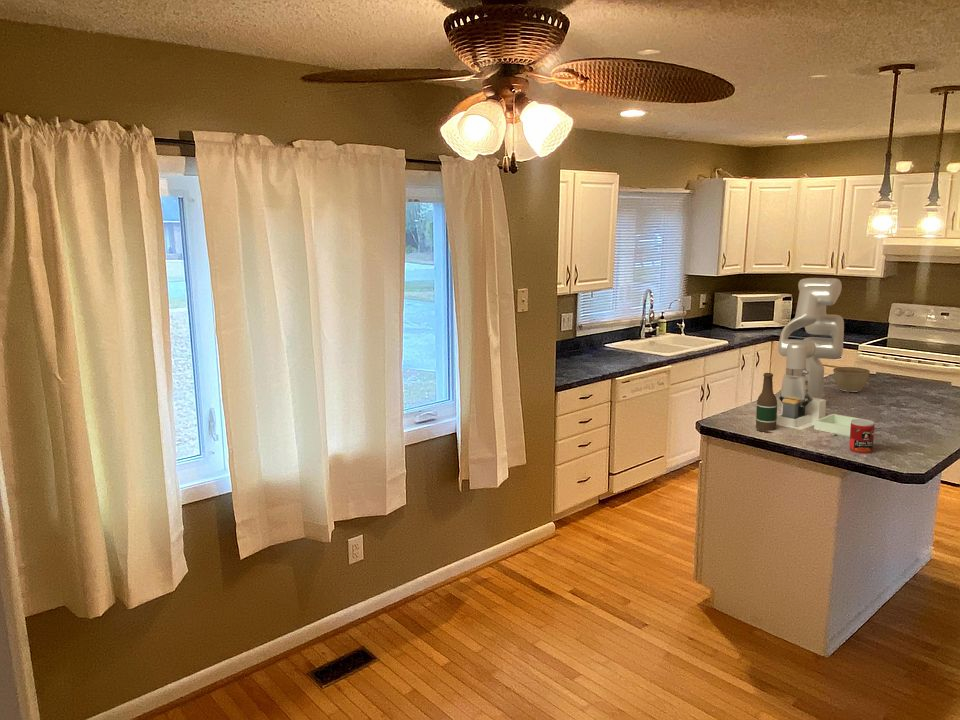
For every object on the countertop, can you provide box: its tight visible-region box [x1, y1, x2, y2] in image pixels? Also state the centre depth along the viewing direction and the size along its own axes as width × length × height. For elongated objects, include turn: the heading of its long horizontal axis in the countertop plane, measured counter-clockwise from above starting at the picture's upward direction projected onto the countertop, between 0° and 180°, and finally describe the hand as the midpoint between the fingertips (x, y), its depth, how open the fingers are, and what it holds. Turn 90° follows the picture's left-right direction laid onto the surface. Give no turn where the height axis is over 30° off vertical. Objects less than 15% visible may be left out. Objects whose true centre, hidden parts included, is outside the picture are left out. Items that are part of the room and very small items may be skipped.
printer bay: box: [776, 398, 827, 431], centre depth 290 cm, size 20×16×10 cm
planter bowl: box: [832, 366, 871, 391], centre depth 344 cm, size 16×16×11 cm
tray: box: [813, 413, 861, 440], centre depth 277 cm, size 16×14×4 cm
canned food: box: [848, 418, 876, 454], centre depth 252 cm, size 8×8×11 cm
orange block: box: [781, 398, 806, 419], centre depth 288 cm, size 9×5×10 cm, turn 129°
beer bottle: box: [755, 372, 778, 434], centre depth 280 cm, size 8×8×24 cm
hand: (793, 413), depth 289 cm, fingers open, 5 cm apart
